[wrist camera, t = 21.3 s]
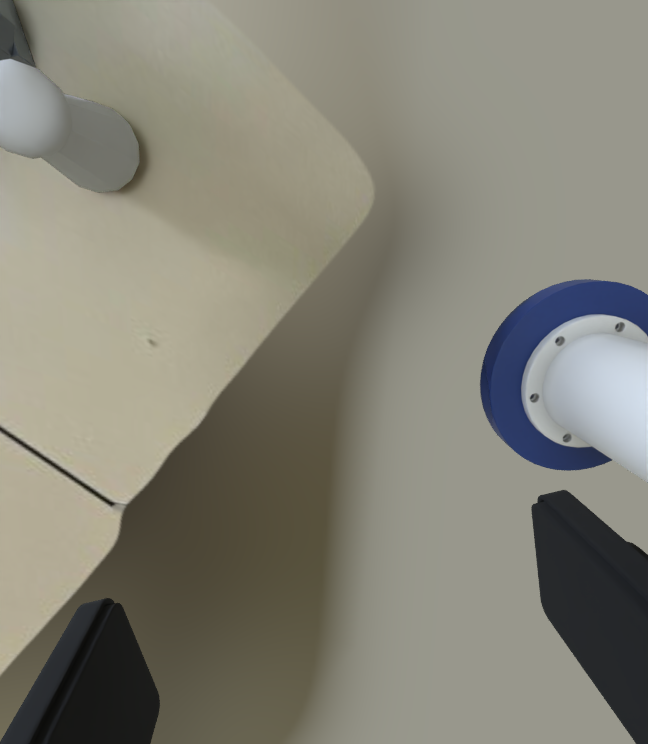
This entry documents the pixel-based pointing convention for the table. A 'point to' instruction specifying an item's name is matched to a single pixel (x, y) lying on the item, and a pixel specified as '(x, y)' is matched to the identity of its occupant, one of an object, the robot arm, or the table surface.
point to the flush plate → (13, 35)
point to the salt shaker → (64, 130)
